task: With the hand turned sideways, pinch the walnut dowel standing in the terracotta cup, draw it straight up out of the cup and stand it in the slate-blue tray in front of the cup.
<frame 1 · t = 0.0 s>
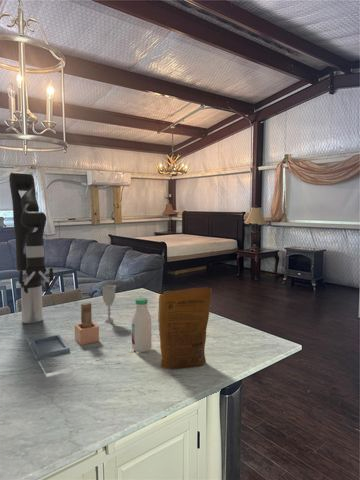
hand: (36, 291, 148), 17 cm above the counter, tool pointing down, fingers open, 8 cm apart
milk bottle: (141, 349, 129), on the counter
terracotta cup: (86, 341, 135), on the counter
pancake mix bag: (184, 366, 115), on the counter
slate tray: (49, 350, 127), on the counter
chalice: (109, 323, 157), on the counter
walnut dowel: (86, 339, 135), point 1 cm above the counter, touching terracotta cup
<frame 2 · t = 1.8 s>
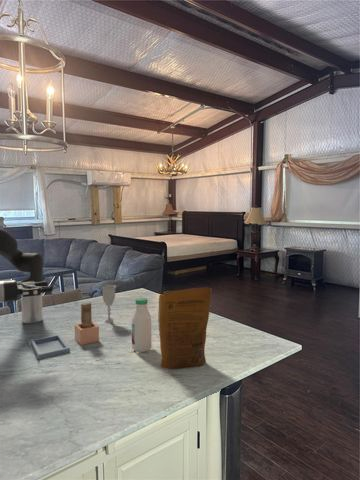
hand: (49, 286, 125), 25 cm above the counter, tool horizontal, fingers open, 8 cm apart
nothing on the counter moved.
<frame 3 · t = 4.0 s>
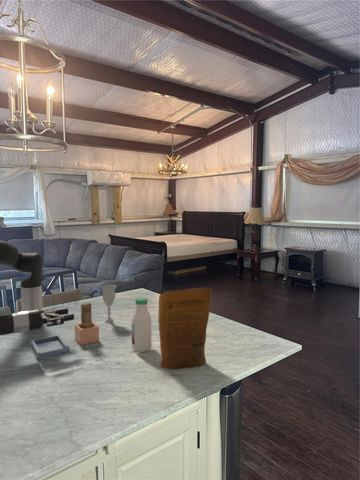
hand: (70, 313, 130), 13 cm above the counter, tool horizontal, fingers open, 8 cm apart
nothing on the counter moved.
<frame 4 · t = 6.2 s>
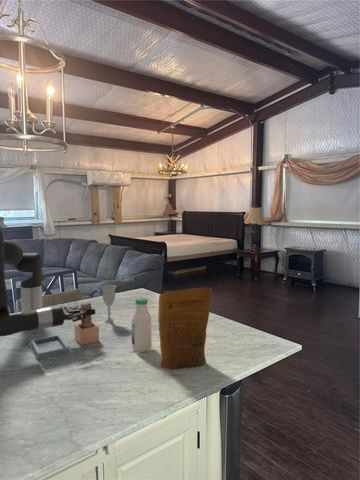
hand: (92, 310, 135), 13 cm above the counter, tool horizontal, fingers closed on walnut dowel, 4 cm apart
walnut dowel: (86, 339, 135), point 1 cm above the counter, touching gripper, terracotta cup
everything else where it was.
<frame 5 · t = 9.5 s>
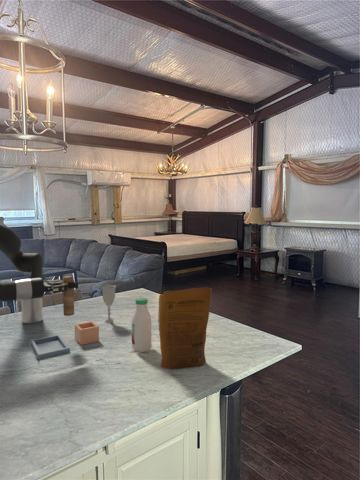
hand: (75, 283, 130), 25 cm above the counter, tool horizontal, fingers closed on walnut dowel, 4 cm apart
walnut dowel: (68, 314, 130), point 13 cm above the counter, touching gripper
everything else where it was.
when the fingers open (14 cm above the counter, at t = 13.0 s): walnut dowel drops 1 cm, resting on slate tray.
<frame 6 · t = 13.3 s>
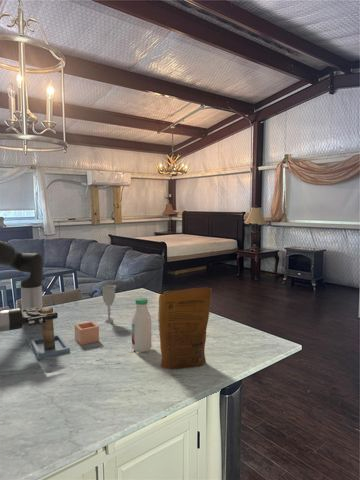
hand: (54, 312, 127), 15 cm above the counter, tool horizontal, fingers open, 7 cm apart
walnut dowel: (49, 347, 127), point 1 cm above the counter, touching slate tray
everything else where it was.
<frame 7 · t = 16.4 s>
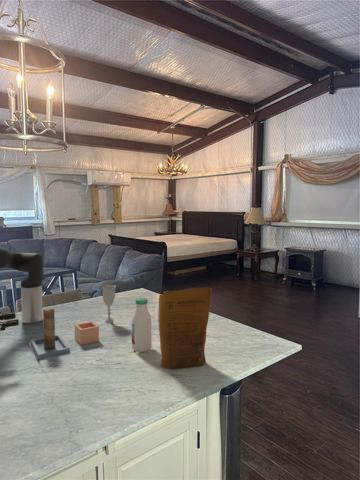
hand: (16, 318, 119), 15 cm above the counter, tool horizontal, fingers open, 8 cm apart
nothing on the counter moved.
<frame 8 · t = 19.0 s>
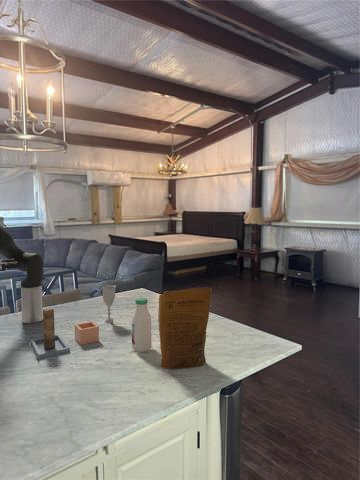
hand: (17, 263, 123), 34 cm above the counter, tool horizontal, fingers open, 8 cm apart
nothing on the counter moved.
at the end: walnut dowel inside the target area on the slate tray (0.1 cm from its centre), point 1.0 cm above the slate tray's base; the gripper is holding nothing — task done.
